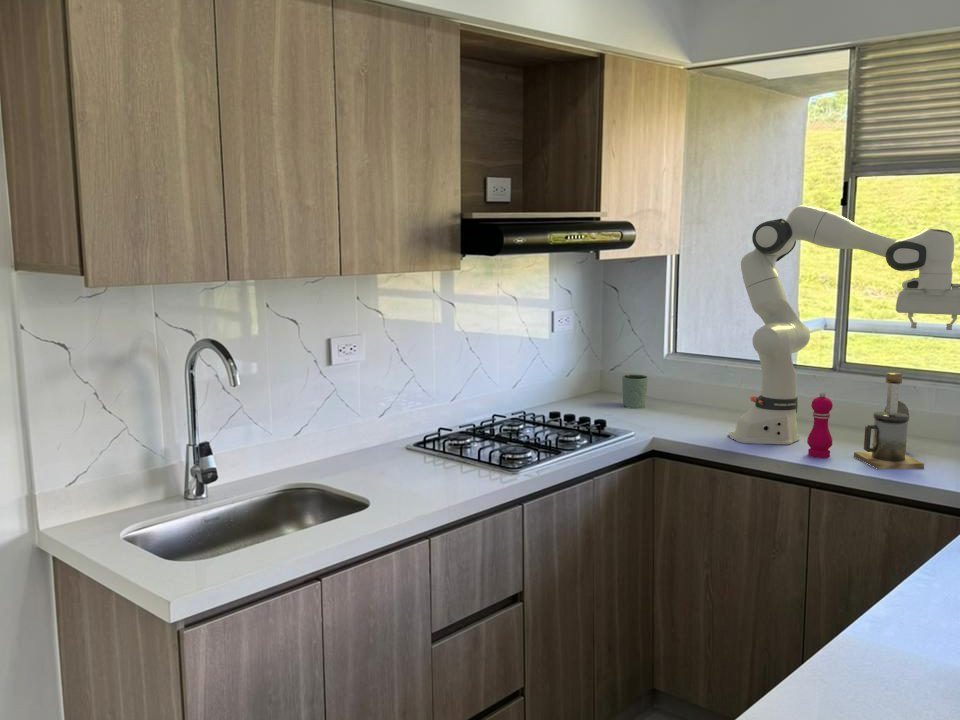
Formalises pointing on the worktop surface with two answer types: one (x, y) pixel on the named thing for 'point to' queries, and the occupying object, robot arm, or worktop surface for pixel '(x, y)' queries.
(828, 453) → the pepper mill
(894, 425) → the press
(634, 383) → the green cup
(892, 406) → the plunger
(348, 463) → the worktop surface
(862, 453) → the plate
